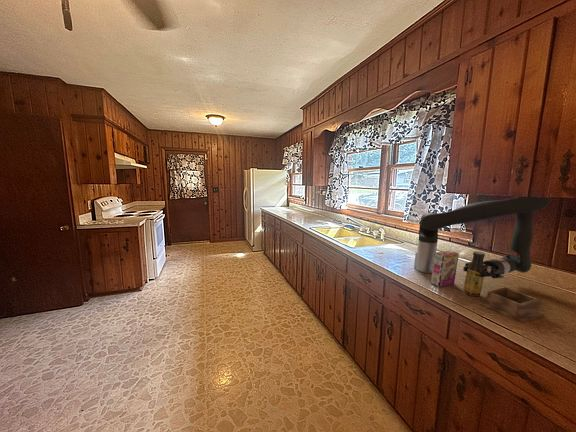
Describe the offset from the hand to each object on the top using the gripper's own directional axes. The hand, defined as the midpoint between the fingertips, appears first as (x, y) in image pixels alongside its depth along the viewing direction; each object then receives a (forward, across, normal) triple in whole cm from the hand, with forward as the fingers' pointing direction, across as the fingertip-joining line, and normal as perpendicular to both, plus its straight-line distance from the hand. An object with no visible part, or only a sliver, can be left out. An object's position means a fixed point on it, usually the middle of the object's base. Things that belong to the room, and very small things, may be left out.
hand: (472, 271), depth 106 cm
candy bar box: (+1, -12, +11) cm, 17 cm away
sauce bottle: (-2, 0, +11) cm, 11 cm away
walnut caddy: (-3, +14, +11) cm, 18 cm away
